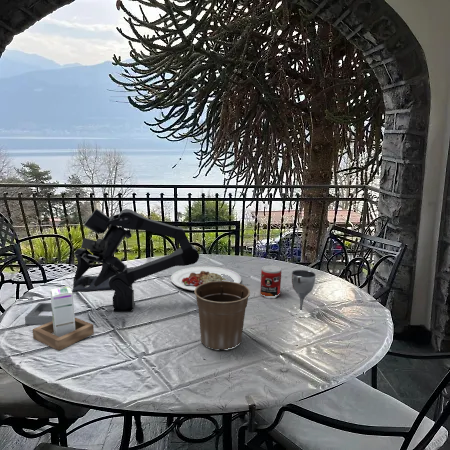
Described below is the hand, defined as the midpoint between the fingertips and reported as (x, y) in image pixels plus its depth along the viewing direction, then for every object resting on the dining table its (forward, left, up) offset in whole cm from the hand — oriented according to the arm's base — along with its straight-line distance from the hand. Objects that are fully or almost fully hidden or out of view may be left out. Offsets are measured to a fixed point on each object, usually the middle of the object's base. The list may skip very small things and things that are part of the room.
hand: (84, 282), depth 122 cm
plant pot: (-43, +12, -14) cm, 47 cm away
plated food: (-39, -39, -14) cm, 57 cm away
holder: (+13, -4, -14) cm, 19 cm away
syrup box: (+4, +9, -14) cm, 17 cm away
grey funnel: (-72, -7, -14) cm, 73 cm away
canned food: (-64, -24, -14) cm, 70 cm away
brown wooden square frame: (+4, +9, -14) cm, 17 cm away
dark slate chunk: (+3, -34, -14) cm, 37 cm away
